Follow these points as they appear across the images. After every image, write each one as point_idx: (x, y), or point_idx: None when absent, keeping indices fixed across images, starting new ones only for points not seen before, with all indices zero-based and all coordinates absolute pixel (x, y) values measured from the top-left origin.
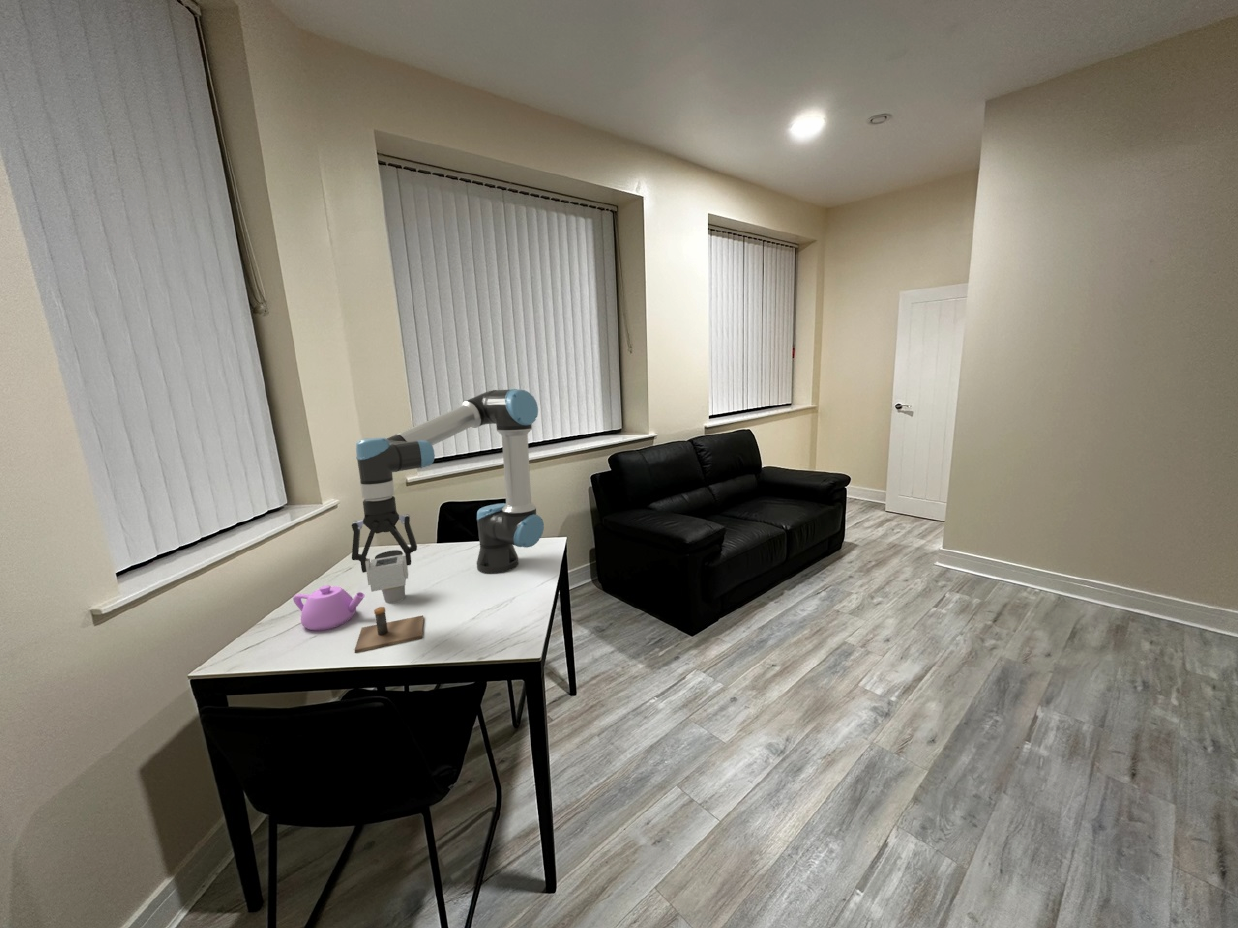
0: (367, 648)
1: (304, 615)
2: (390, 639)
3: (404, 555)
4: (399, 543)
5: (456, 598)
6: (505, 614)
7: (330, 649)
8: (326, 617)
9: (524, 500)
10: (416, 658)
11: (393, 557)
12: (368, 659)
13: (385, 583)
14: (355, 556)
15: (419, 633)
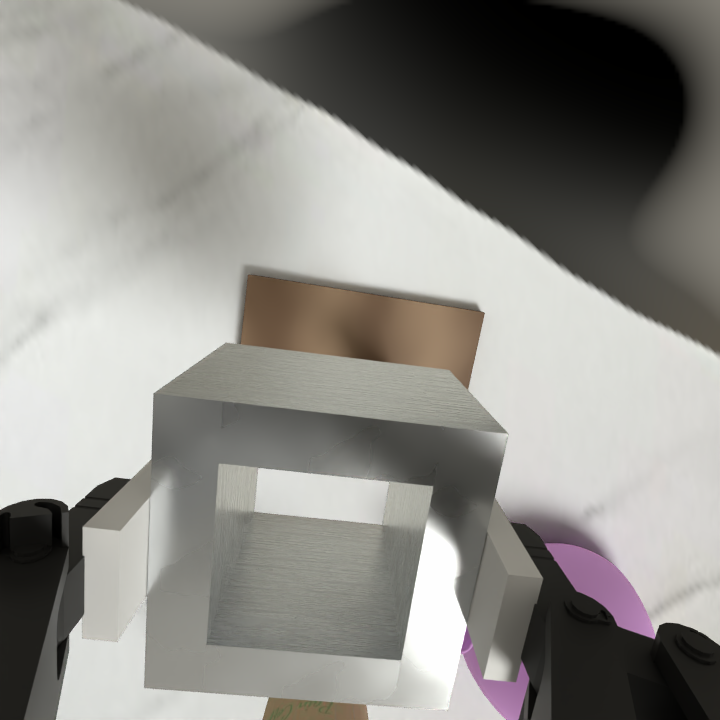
0: (441, 305)
1: (647, 615)
2: (361, 315)
3: (95, 532)
4: (5, 706)
5: None
6: None
7: (551, 387)
8: (572, 567)
9: None
10: (283, 124)
11: (245, 650)
12: (442, 231)
13: (355, 369)
14: (694, 665)
15: (255, 297)
